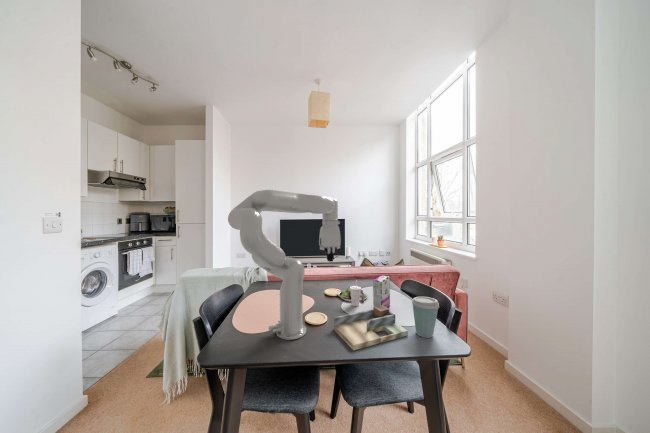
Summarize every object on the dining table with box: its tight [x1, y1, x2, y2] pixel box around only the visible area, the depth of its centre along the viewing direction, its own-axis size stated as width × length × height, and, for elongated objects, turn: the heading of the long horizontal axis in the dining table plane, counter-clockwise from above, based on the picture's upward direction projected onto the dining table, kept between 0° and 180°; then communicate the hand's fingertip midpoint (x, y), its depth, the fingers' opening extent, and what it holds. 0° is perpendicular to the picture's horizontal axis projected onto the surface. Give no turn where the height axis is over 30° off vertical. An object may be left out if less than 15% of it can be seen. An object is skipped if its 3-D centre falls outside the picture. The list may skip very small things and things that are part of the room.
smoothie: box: [349, 279, 362, 307], centre depth 129 cm, size 6×6×14 cm
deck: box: [333, 309, 409, 351], centre depth 100 cm, size 26×17×6 cm, turn 114°
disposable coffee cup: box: [411, 296, 440, 339], centre depth 98 cm, size 11×11×15 cm
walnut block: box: [374, 305, 390, 318], centre depth 108 cm, size 5×5×5 cm
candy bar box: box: [372, 274, 391, 310], centre depth 124 cm, size 11×5×16 cm, turn 143°
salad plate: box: [337, 286, 369, 303], centre depth 140 cm, size 19×18×5 cm
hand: (330, 261), depth 116 cm, fingers closed
